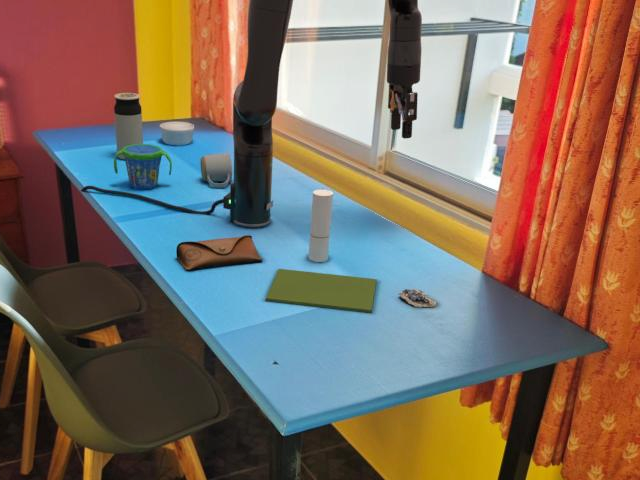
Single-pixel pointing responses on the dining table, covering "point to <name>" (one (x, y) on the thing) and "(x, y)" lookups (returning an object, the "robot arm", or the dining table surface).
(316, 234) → the tube
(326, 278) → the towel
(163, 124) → the ramekin
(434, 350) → the dining table surface
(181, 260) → the sunglasses case
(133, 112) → the travel mug
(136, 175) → the snack cup
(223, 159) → the ceramic mug
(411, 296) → the rough mineral rock
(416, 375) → the dining table surface
